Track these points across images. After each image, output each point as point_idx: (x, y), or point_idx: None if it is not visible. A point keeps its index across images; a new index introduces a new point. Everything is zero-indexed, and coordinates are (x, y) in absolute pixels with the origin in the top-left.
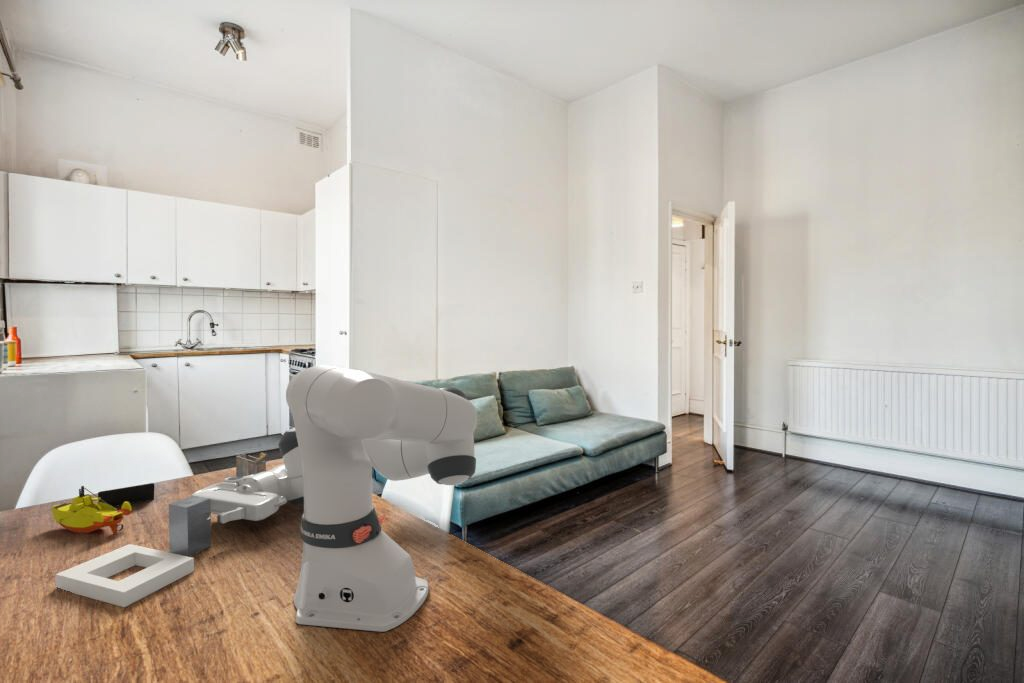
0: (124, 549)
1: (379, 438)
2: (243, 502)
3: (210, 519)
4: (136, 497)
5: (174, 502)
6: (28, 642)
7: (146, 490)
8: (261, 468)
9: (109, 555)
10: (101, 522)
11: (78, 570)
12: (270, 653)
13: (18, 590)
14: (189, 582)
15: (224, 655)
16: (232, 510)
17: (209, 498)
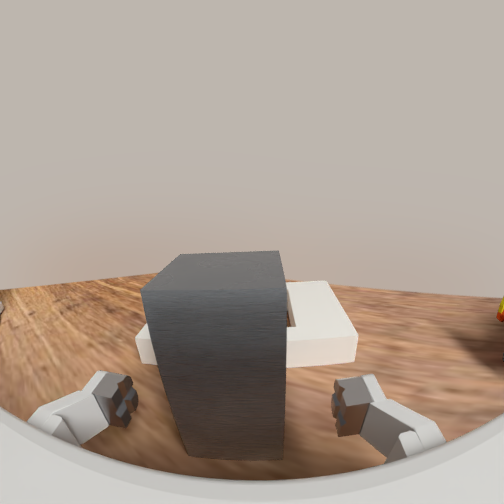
0: (334, 325)
1: None
2: (23, 429)
3: (163, 383)
4: None
5: (275, 255)
6: None
7: None
8: None
9: (328, 310)
10: (498, 312)
11: (309, 288)
12: (24, 294)
13: (360, 290)
14: (128, 342)
15: (51, 290)
16: (72, 401)
17: (368, 469)
